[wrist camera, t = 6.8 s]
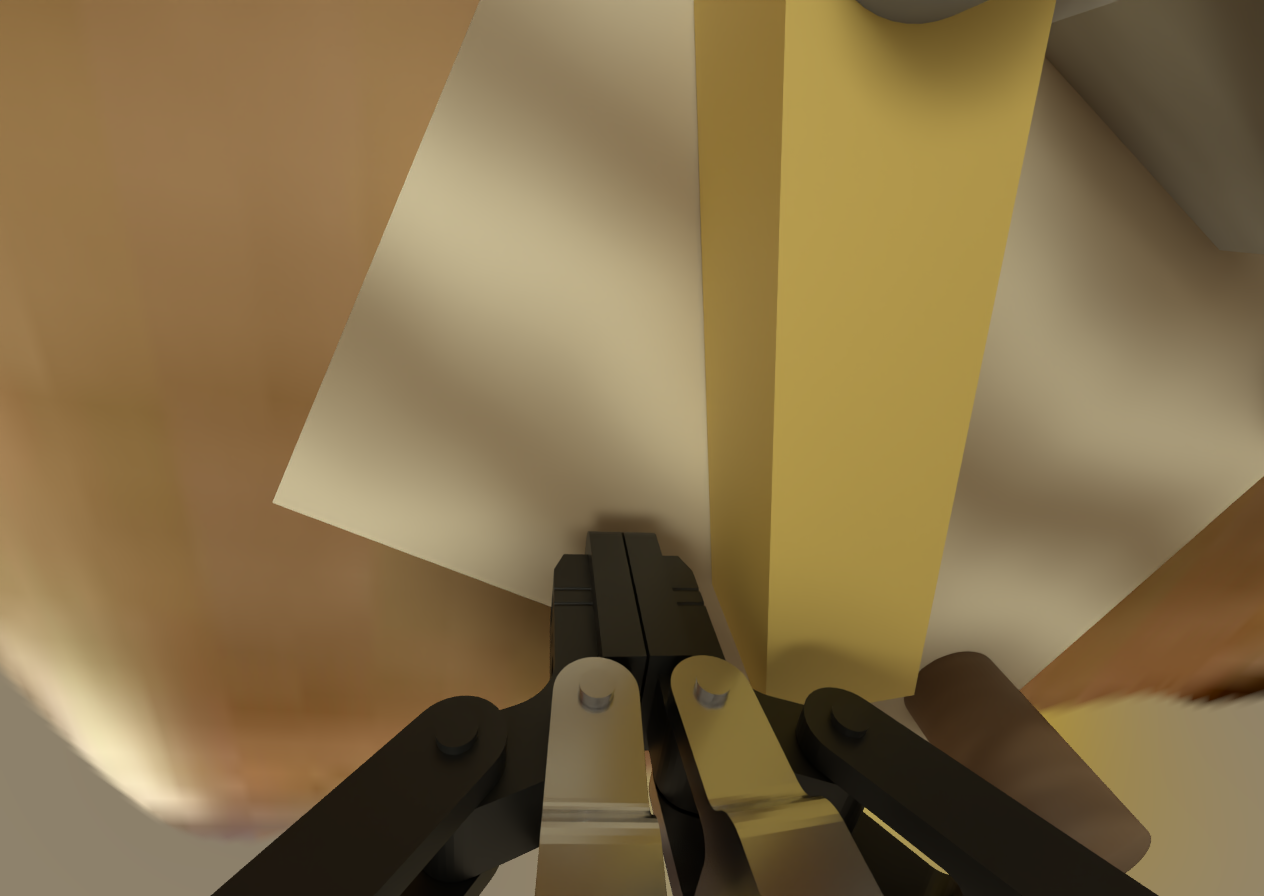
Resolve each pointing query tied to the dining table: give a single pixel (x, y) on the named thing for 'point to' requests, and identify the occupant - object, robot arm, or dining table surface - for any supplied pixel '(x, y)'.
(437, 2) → the dining table surface
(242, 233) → the dining table surface
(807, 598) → the bar
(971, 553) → the seat board
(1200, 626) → the dining table surface
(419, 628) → the dining table surface
